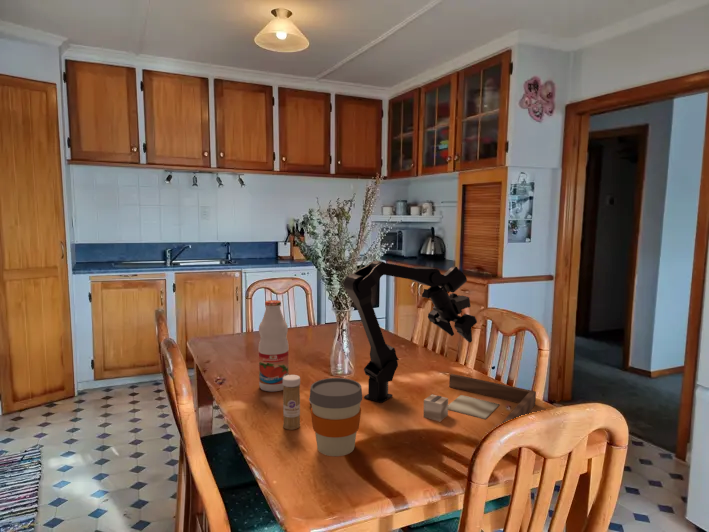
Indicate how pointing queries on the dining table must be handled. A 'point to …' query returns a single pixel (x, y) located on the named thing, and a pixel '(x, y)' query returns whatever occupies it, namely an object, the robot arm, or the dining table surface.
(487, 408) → the corner arena
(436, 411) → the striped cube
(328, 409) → the reusable coffee cup
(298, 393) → the sprinkles bottle
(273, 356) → the fruit juice
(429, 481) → the dining table surface
